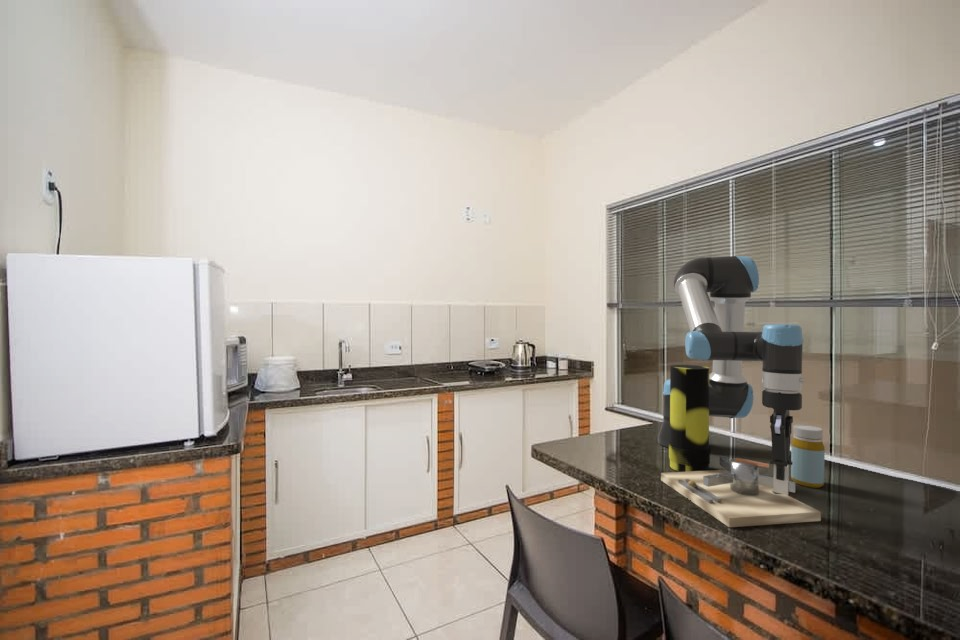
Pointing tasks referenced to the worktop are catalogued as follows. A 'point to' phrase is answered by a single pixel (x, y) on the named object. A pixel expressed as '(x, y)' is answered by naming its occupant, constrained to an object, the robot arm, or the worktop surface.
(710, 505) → the stand
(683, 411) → the container
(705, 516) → the worktop surface
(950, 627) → the worktop surface
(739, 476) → the capstan
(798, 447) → the bottle
